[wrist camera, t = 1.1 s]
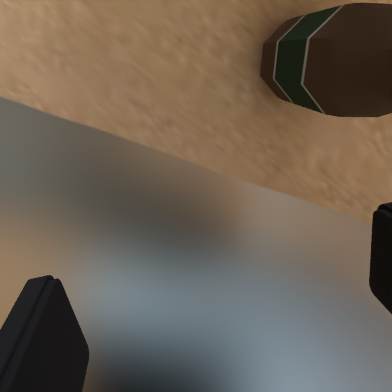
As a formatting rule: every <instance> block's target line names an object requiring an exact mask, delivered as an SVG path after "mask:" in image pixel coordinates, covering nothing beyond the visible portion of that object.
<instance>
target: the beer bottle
mask: <svg viewBox="0 0 392 392" xmlns="http://www.w3.org/2000/svg"><path fill="white" fill-rule="evenodd" d="M260 76H261V77H262V78H263V79H264V81H265V82H266V83H267V84H268V86H269V87H270V88H271V89H272V91H273V92H274V93H275V94H276V96H277V97H279V98H280V99H282V100H285V101H288V102H291V103H294V104H297V105H299V106H302V107H305V108H308V109H311V110H314V111H317V112H320V113H323V114H326V115H332V116H337V117H379V116H383V115H386V114H390V113H392V4H377V3H353V4H344V5H341V6H337V7H333V8H329V9H325V10H322V11H318V12H314V13H310V14H307V15H303V16H299V17H295V18H292V19H290V20H288V21H286V22H285V23H284V24H283V25H282V26H281V27H280V28H279V29H278V30H277V31H276V32H275V33H274V34H273V35H272V36H271V37H270V38H269V39H268V40H267V41H266V42H265V43H264V44H263V53H262V63H261V74H260Z"/></svg>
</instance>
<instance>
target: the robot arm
mask: <svg viewBox="0 0 392 392" xmlns="http://www.w3.org/2000/svg"><path fill="white" fill-rule="evenodd" d="M369 283H370V284H369V285H370V288H371V291H372V293H373V294H374V295H375V296H376V297H377V298H378V300H379V301H380V302H381V303H382V304H383V305H384V306H385V307H386V308H387V309H388V311H389V312H390V313H391V314H392V202H390V203H386V204H381V205H380V206H379V207H378V209H377V210H376V211H375V212H374V213H373V223H372V242H371V259H370V277H369ZM88 361H89V349H88V345H87V343H86V340H85V338H84V335H83V333H82V331H81V328H80V326H79V323H78V321H77V319H76V316H75V314H74V312H73V309H72V307H71V304H70V302H69V300H68V297H67V295H66V292H65V290H64V287H63V285H62V283H61V281H60V280H59V279H54V278H53V277H52V276H51V275H47V276H43V277H38V278H33V279H30V280H28V281H27V283H26V284H25V286H24V288H23V290H22V292H21V293H20V295H19V297H18V299H17V301H16V302H15V304H14V306H13V308H12V310H11V312H10V314H9V315H8V317H7V319H6V321H5V322H4V324H3V326H2V328H1V330H0V392H82V389H83V384H84V380H85V375H86V370H87V365H88Z"/></svg>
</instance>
